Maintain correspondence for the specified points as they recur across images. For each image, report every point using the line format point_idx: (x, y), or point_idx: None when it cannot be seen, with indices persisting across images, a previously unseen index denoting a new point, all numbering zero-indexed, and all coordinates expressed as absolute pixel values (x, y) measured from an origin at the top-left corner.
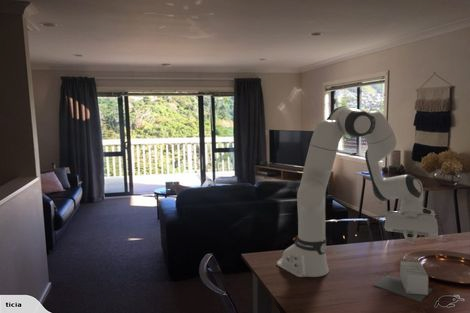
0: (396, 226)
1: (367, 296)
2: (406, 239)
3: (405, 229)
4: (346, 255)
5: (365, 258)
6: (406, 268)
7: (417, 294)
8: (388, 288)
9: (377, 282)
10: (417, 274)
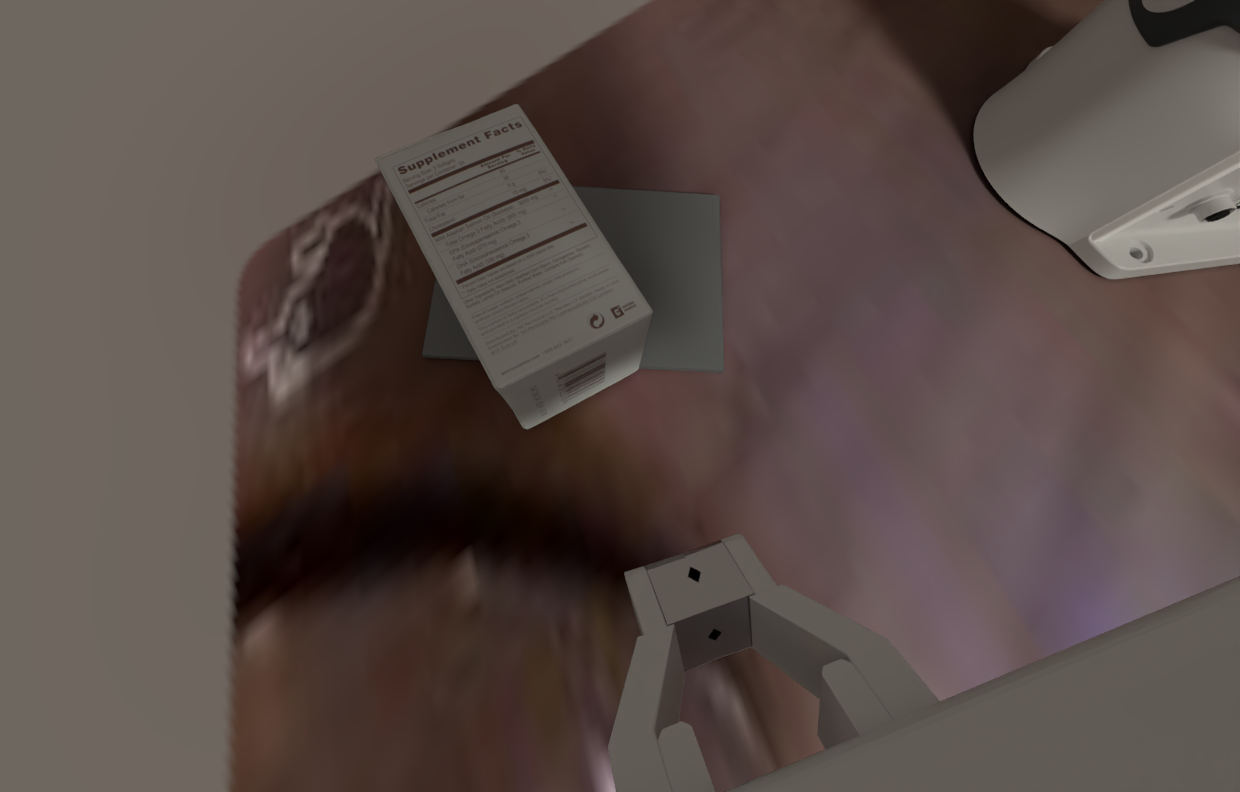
0: (1197, 671)
1: (683, 90)
2: (741, 546)
3: (917, 717)
4: (1135, 513)
5: (1004, 563)
6: (553, 190)
7: None
8: (636, 203)
9: (716, 229)
10: (450, 138)
